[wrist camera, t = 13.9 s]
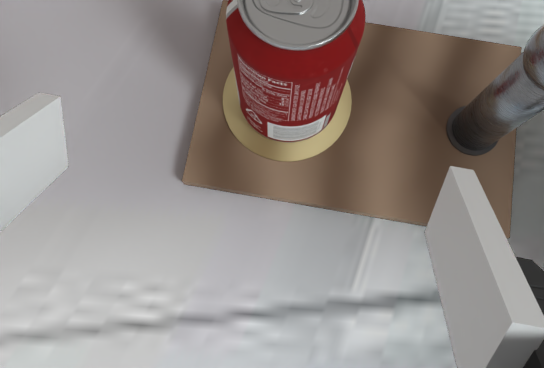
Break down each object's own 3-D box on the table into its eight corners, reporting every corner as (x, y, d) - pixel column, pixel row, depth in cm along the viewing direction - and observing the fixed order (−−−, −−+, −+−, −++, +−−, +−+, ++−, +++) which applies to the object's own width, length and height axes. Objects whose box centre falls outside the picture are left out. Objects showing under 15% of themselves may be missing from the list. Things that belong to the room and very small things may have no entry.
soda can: (333, 150, 32) (369, 67, 20) (234, 141, 32) (213, 53, 20) (339, 60, 33) (377, -67, 22) (245, 51, 33) (231, -79, 22)
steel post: (500, 110, 33) (633, 5, 21) (496, 159, 32) (633, 79, 20) (448, 102, 33) (551, -7, 21) (444, 150, 32) (548, 66, 20)
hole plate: (514, 54, 35) (523, 45, 34) (502, 239, 32) (511, 237, 30) (224, 7, 36) (222, -3, 34) (184, 184, 32) (181, 180, 31)
